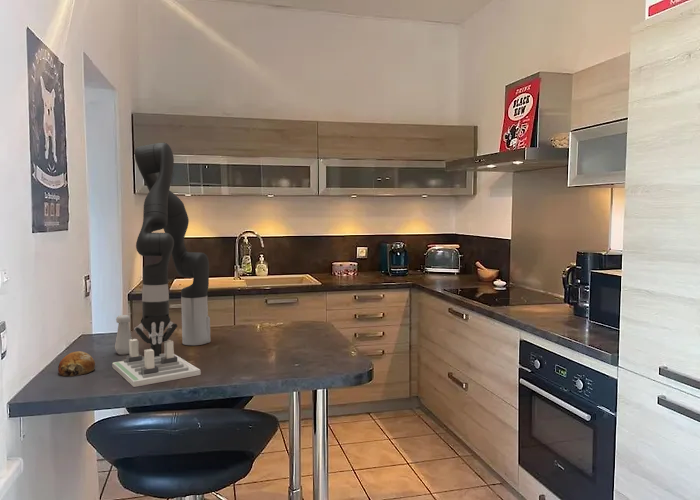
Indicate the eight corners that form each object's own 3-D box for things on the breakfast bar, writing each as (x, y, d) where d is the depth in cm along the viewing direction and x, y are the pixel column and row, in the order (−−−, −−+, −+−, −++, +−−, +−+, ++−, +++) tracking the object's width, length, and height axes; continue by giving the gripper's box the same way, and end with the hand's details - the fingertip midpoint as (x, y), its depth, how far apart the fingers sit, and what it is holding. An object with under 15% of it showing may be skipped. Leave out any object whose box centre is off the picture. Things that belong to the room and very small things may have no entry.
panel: (173, 357, 184) (173, 350, 184) (200, 374, 165) (200, 367, 165) (112, 367, 173) (112, 360, 173) (133, 386, 154) (133, 378, 153)
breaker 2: (155, 371, 162) (154, 348, 162) (158, 374, 160) (157, 350, 159) (141, 374, 160) (140, 350, 159) (144, 376, 158) (143, 352, 157)
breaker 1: (139, 360, 175) (138, 338, 175) (142, 362, 173) (141, 339, 172) (126, 362, 173) (125, 339, 172) (128, 364, 170) (128, 341, 170)
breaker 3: (174, 361, 174) (173, 339, 173) (177, 363, 171) (176, 341, 171) (161, 363, 171) (160, 341, 171) (164, 365, 169) (163, 342, 168)
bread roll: (98, 382, 170) (106, 356, 173) (73, 376, 161) (82, 349, 164) (73, 379, 174) (80, 353, 176) (47, 373, 164) (56, 346, 167)
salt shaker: (126, 355, 187) (125, 317, 186) (111, 355, 188) (110, 316, 187) (136, 351, 193) (135, 314, 192) (121, 350, 194) (120, 313, 193)
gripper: (173, 296, 175) (173, 350, 176) (129, 299, 167) (129, 356, 168) (181, 298, 169) (181, 355, 170) (136, 302, 161) (136, 361, 162)
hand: (156, 355), depth 169 cm, fingers closed
